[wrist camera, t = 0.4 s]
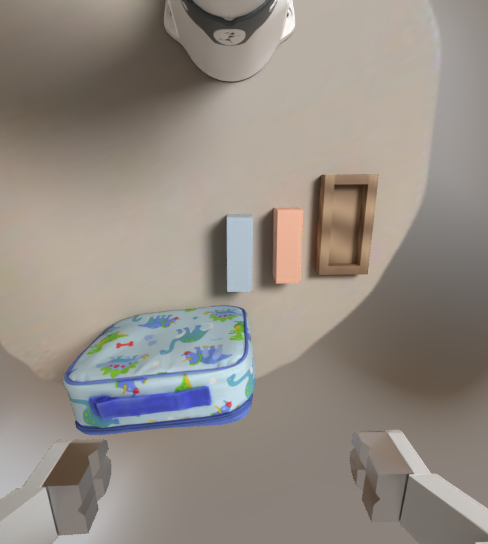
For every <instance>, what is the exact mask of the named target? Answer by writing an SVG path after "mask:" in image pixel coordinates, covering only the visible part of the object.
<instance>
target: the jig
mask: <svg viewBox="0 0 488 544" xmlns="http://www.w3.org/2000/svg"><path fill="white" fill-rule="evenodd" d="M378 176H379V174H356V175H321V184H320V200H319V216H318V232H317V249H316V265H315V271H316V272H317V273H318V274H319V275H346V274H368V266H369V257H370V248H371V239H372V230H373V221H374V212H375V203H376V194H377V185H378Z"/></svg>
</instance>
